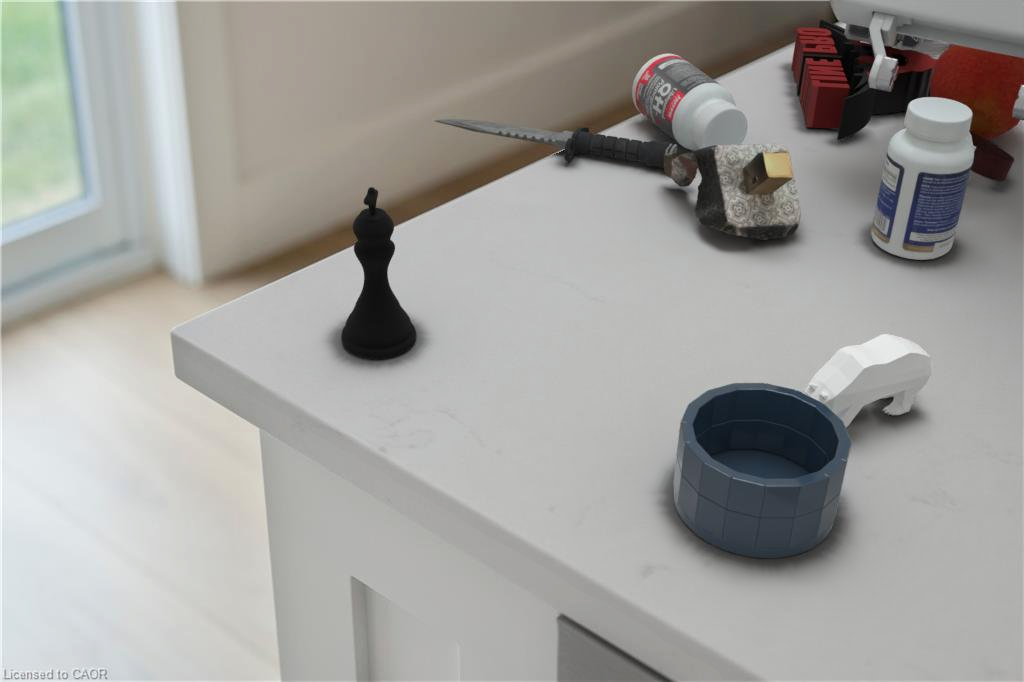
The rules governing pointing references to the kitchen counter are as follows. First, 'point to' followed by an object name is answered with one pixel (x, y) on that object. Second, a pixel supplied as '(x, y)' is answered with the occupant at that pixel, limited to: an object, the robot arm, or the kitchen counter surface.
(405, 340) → the chess piece
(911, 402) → the white low-poly animal
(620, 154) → the knife
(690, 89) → the pill bottle
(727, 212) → the grey patterned lump
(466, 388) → the kitchen counter surface
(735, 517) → the bowl
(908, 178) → the pill bottle
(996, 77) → the apple
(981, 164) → the watch
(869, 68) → the extruded letter emblem
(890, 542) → the kitchen counter surface
